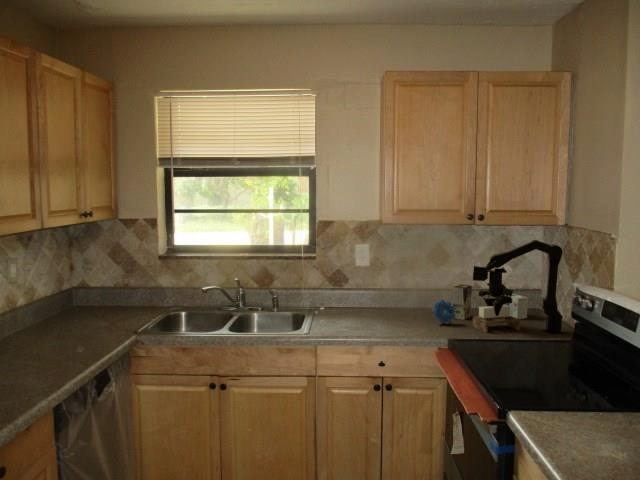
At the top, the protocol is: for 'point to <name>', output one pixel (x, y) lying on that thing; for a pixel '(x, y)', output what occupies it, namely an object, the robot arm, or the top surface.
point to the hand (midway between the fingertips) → (494, 314)
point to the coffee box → (462, 301)
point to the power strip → (493, 312)
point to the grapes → (444, 311)
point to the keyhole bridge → (483, 324)
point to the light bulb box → (518, 306)
